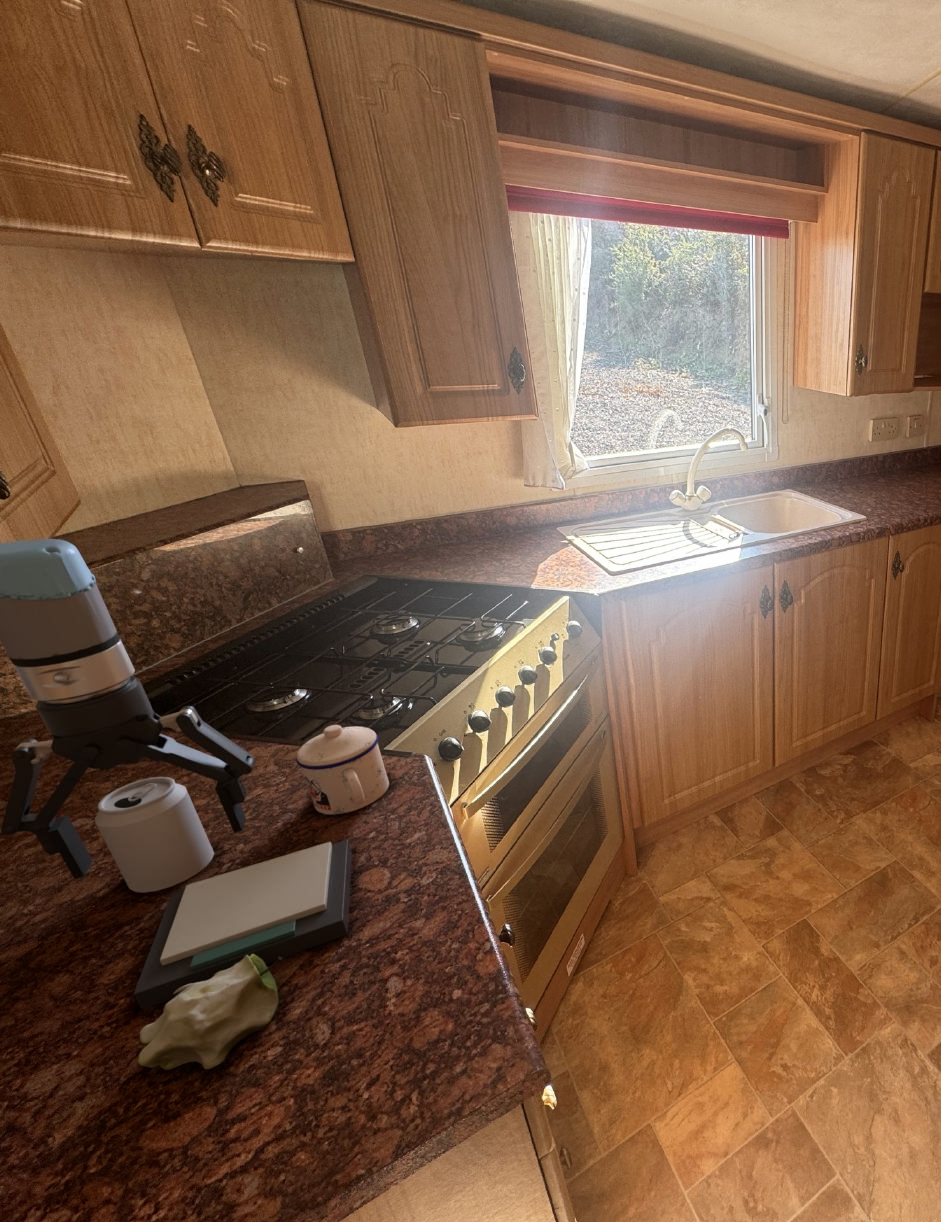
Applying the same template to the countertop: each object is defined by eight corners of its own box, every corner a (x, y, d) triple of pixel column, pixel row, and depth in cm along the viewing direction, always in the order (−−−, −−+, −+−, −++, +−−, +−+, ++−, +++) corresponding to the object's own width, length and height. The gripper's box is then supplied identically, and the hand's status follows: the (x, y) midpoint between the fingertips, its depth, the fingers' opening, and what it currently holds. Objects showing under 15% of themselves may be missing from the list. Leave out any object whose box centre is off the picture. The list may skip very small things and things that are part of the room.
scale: (145, 1016, 60) (129, 988, 59) (181, 913, 71) (168, 887, 70) (350, 940, 68) (340, 914, 67) (354, 858, 79) (346, 834, 78)
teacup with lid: (308, 798, 89) (283, 727, 85) (383, 770, 95) (363, 703, 91) (325, 842, 82) (299, 766, 77) (406, 809, 88) (385, 737, 83)
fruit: (306, 987, 65) (296, 934, 61) (248, 1090, 56) (233, 1035, 53) (197, 988, 62) (181, 934, 59) (121, 1095, 54) (97, 1039, 51)
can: (113, 891, 74) (69, 807, 69) (186, 846, 81) (150, 767, 76) (162, 904, 72) (120, 819, 68) (232, 857, 79) (198, 777, 74)
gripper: (-123, 740, 58) (-8, 915, 66) (234, 672, 70) (294, 826, 78) (-76, 704, 64) (24, 868, 72) (246, 647, 76) (300, 792, 84)
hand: (165, 846), depth 75 cm, fingers open, 13 cm apart
